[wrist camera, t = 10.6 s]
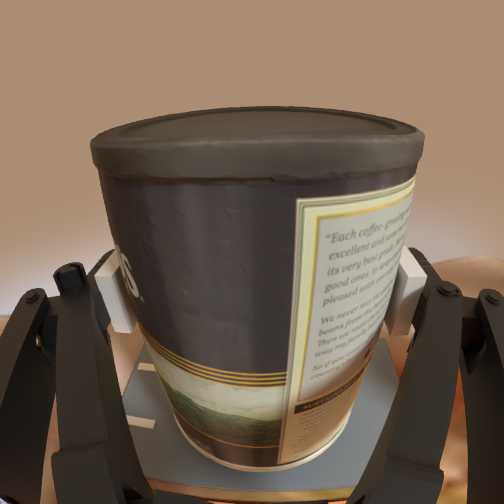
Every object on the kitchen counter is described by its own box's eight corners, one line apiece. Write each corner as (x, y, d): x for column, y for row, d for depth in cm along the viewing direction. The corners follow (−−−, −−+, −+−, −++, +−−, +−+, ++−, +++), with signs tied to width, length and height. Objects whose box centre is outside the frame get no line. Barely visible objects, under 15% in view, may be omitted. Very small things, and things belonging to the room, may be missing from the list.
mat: (383, 342, 21) (385, 337, 21) (420, 473, 12) (423, 470, 11) (148, 340, 22) (146, 336, 22) (101, 465, 13) (98, 462, 13)
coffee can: (169, 480, 11) (12, 171, 4) (177, 337, 20) (136, 117, 13) (379, 450, 12) (502, 151, 5) (325, 322, 21) (343, 107, 14)
